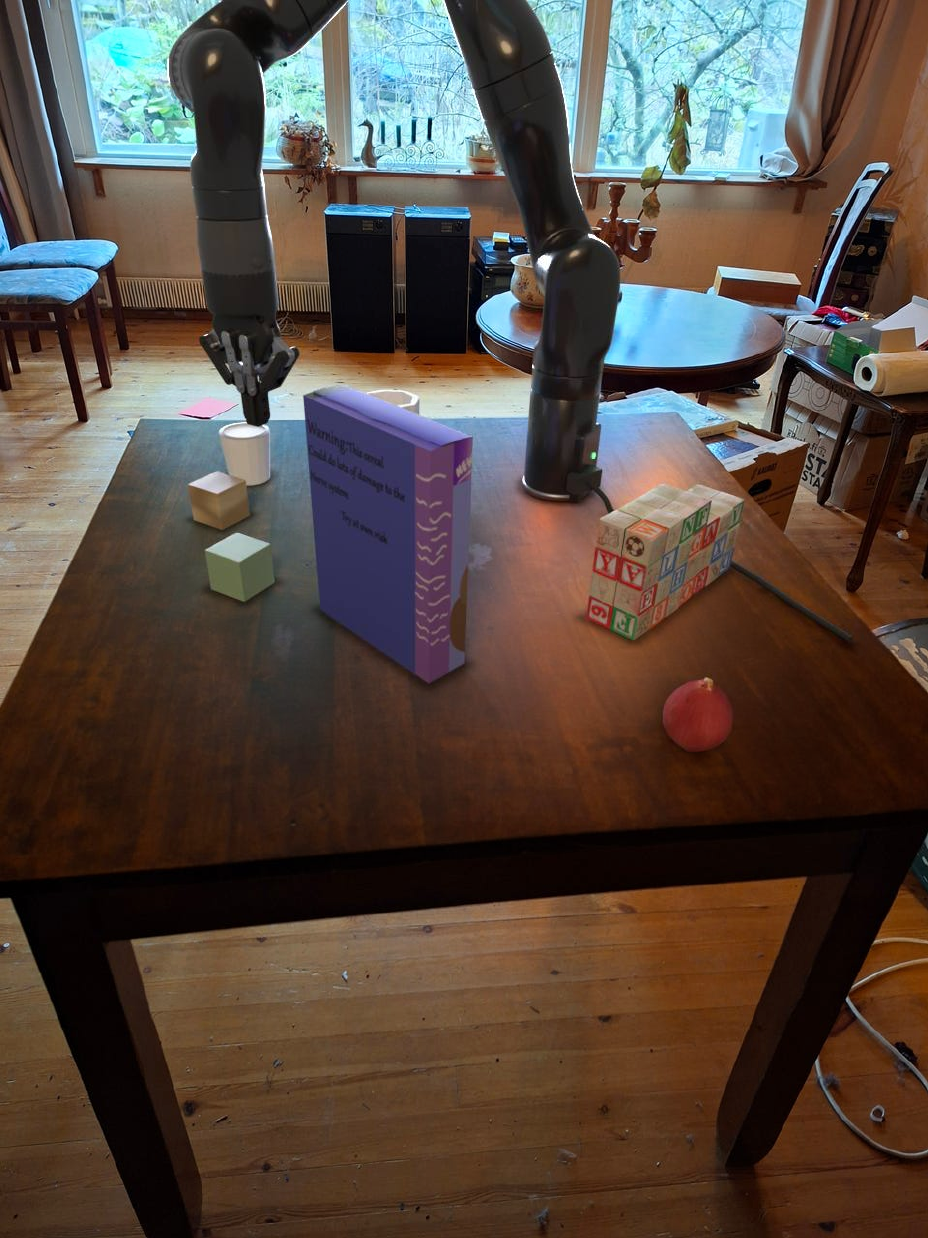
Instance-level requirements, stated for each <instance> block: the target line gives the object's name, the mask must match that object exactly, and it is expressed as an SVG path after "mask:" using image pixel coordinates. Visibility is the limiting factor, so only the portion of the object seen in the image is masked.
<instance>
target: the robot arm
mask: <svg viewBox="0 0 928 1238" xmlns="http://www.w3.org/2000/svg"><path fill="white" fill-rule="evenodd" d="M349 1H350V0H220V1H219V2H218V3H216V4H215V5H213V6H212V7H211V8H210V9H208V10H207V11H206V12H205V13H203V14H202V15H201V16H200V17H198V18H197V19H196V20H195V21H194V22H193V23H191V25H189V26H188V27H187V28H186V29H185V30H184V31H183V32H182V33H181V34H180V35H179V37H177V39H176V41H175V42H174V43H173V45H172V47H171V49H170V52H169V55H168V57H167V58H168V59H167V66H166V67H167V70H166V71H167V78H168V83H169V85H170V88H171V91H172V92H173V94H174V96H175V97H176V99H177V100H178V102H179V103H181V105H182V106H183V107H185V108H186V109H187V110H189V111H190V112H191V113H193V116H194V117H193V119H194V130H195V131H194V132H195V142H196V150H195V153H194V154H193V155H192V156H191V159H190V165H189V166H190V168H189V169H190V170H189V171H190V173H189V175H190V182H191V183H190V184H191V189H192V194H193V195H192V197H193V203H194V210H195V216H196V217H195V218H196V239H197V249H198V255H199V262H200V269H201V276H202V282H203V283H202V284H203V289H204V296H205V303H206V309H207V310H208V312H209V313H210V314H212V315H213V317H212V321H211V325H212V329H211V330H210V331H209V332H208V333H207V334H204V335H201V336H199V338H198V342H199V345H200V346H201V347H202V349H203V350H204V352H205V353H206V356H207V357H208V358H209V360H210V362H211V364H212V365H213V366H214V368H215V370H216V371H217V372H218V374H219V376H220V377H221V378H222V380H223V381H224V383H225V384H226V385H228V386H230V385H232V386H234V387H235V388H236V391H237V392H238V393H239V394H240V400H241V406H242V414H243V417H244V419H245V422H247V424H249V425H253V426H256V427H260V426H262V425H267V424H268V423H269V421H270V419H271V408H270V399H269V398H270V397H269V393H270V392H272V391H274V390H276V389H279V388H281V387H282V386H283V384H284V382H285V380H286V379H287V377H288V375H289V374H290V372H291V371H292V369H293V367H294V365H296V364H295V363H296V362H297V360H298V359H299V357H300V351H299V349H298V347H296V346H291V347H289V346H288V345H287V343H286V342H284V340H283V339H282V338H281V336H282V335H281V334H282V332H281V328H280V326H279V324H278V322H277V317H276V316H277V312H278V309H279V307H280V301H279V291H278V283H277V282H278V281H277V273H276V271H277V270H276V261H275V252H274V242H273V236H272V232H271V227H270V223H269V216H268V209H267V208H268V207H267V200H266V197H267V196H266V189H265V179H264V174H263V158H264V157H263V156H264V150H265V136H266V135H265V133H266V114H267V111H266V108H267V105H266V103H267V102H266V99H267V98H266V88H265V87H266V86H265V81H264V76H263V75H264V73H266V72H267V71H268V70H269V69H270V68H271V67H272V66H273V65H275V64H276V63H277V62H279V61H281V60H285V59H287V58H290V57H293V56H294V55H296V54H297V53H299V52H300V51H301V50H302V49H304V48H305V47H306V46H307V45H308V44H309V43H310V42H311V41H312V40H313V39H314V38H315V36H317V35H318V34H319V33H320V32H321V31H322V30H323V29H324V28H325V27H326V26H327V24H329V22H331V21H332V19H333V18H334V17H336V15H337V14H338V13H339V12H340V11H341V10H342V9H343V8H344V6H345V5H347V3H348V2H349ZM442 2H443V4H444V7H445V11H446V13H447V17H448V20H449V22H450V26H451V29H452V31H453V35H454V38H455V40H456V44H457V45H458V49H459V51H460V54H461V57H462V60H463V64H464V65H465V70H466V72H467V76H468V79H469V83H470V86H471V89H472V93H473V95H474V98H475V102H476V104H477V107H478V110H479V113H480V116H481V119H482V122H483V125H484V126H485V129H486V132H487V136H488V137H489V140H490V142H491V145H492V148H493V151H494V153H495V155H496V157H497V161H498V163H499V165H500V168H501V170H502V173H503V175H504V178H505V179H506V182H507V184H508V186H509V188H510V190H511V192H512V195H513V197H514V200H515V202H516V205H517V209H518V212H519V215H520V219H521V223H522V227H523V231H524V235H525V239H526V244H527V247H528V252H529V257H530V260H531V266H532V271H533V276H534V281H535V283H536V286H537V288H538V290H539V293H541V295H542V297H543V309H542V317H541V318H542V319H541V328H540V335H539V339H538V340H537V341H536V342H535V344H534V346H533V352H532V353H533V354H532V367H531V379H530V390H529V391H530V392H529V402H528V403H529V405H528V417H527V418H528V419H527V429H526V430H527V431H526V443H525V454H524V455H525V456H524V457H525V458H524V470H523V477H522V489H523V490H524V491H525V492H526V493H527V494H528V495H530V496H532V497H534V498H537V499H539V500H543V501H548V502H557V503H560V502H561V503H562V502H563V503H564V502H569V503H572V504H573V503H574V504H577V503H579V502H580V501H581V500H583V498H585V497H586V496H587V495H588V494H589V493H590V492H591V491H593V492H595V493H596V495H598V497H599V498H600V499H601V500H602V502H603V504H604V507H605V508H606V511H607V512H608V514H609V513H611V512H613V511H615V510H614V508H613V506H612V504H611V501H610V499H609V497H608V495H606V493H605V492H604V491H603V490H602V489H601V488H600V487H601V483H602V478H603V477H602V476H603V468H601V467H598V466H597V465H598V455H599V448H600V441H601V433H602V424H601V423H598V413H599V405H600V397H601V392H602V391H601V390H602V382H603V373H604V366H605V360H606V356H607V355H608V354H609V351H610V349H611V346H612V341H613V335H614V329H615V324H616V319H617V312H618V305H619V297H620V290H621V267H620V262H619V259H618V257H617V255H616V253H615V252H614V250H613V249H612V247H610V246H609V245H608V244H607V243H606V242H604V241H603V240H601V239H600V238H598V237H597V236H596V235H595V233H594V231H593V229H592V227H591V224H590V222H589V220H588V217H587V215H586V212H585V209H584V206H583V203H582V200H581V199H580V196H579V195H580V194H579V192H578V189H577V186H576V182H575V177H574V173H573V166H572V155H571V140H570V139H571V138H570V125H569V117H568V109H567V104H566V103H567V102H566V98H565V94H564V90H563V85H562V82H561V78H560V75H559V71H558V67H557V64H556V60H555V57H554V53H553V52H552V51H553V50H552V46H551V44H550V41H549V38H548V36H547V33H546V31H545V28H544V27H543V24H542V23H541V21H540V19H539V17H538V16H537V14H536V12H535V11H534V10H533V8H532V6H531V5H530V3H529V2H528V0H442ZM227 365H228V366H227ZM730 568H731V569H734V570H735V571H737V572H739V573H740V574H742V575H744V576H746V577H747V578H749V579H751V580H752V581H754V582H755V583H757V584H759V586H761V587H763V588H765V589H766V590H768V591H769V592H770V593H772V594H773V595H775V596H776V597H778V598H779V599H780V600H782V601H784V603H785V604H787V605H789V606H790V607H792V608H793V609H795V610H797V611H798V612H800V613H801V614H802V615H804V616H806V617H807V618H809V619H810V620H812V621H813V622H815V623H816V624H818V625H820V626H822V627H823V628H825V629H826V630H828V631H829V632H831V633H832V634H834V635H835V636H837V637H839V638H840V639H842V640H844V641H845V642H847V643H851V642H852V641H853V639H854V636H852V635H851V634H849V633H848V632H846V631H844V630H843V629H841V628H840V627H838V626H837V625H834V624H833V623H831V622H830V621H828V620H827V619H825V618H824V617H822V616H820V615H818V614H817V613H815V612H813V611H812V610H811V609H809V608H807V607H806V606H804V605H803V604H801V603H799V602H798V601H796V600H795V599H793V598H792V597H790V596H789V595H788V594H786V593H785V592H783V590H780V588H777V587H776V586H775V585H773V584H772V583H770V582H768V581H767V580H766V579H764V578H763V577H761V576H760V575H757V574H756V573H754V572H753V571H751V570H749V569H747V568H746V567H744V566H743V565H741V564H739V563H738V562H736V561H733V560H731V564H730Z"/></svg>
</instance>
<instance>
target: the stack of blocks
mask: <svg viewBox="0 0 928 1238" xmlns="http://www.w3.org/2000/svg"><path fill="white" fill-rule="evenodd" d="M745 501H746V499H744V498H743V497H742V498H741V497H739V496H735V495H732V494H730V493H727V492H725V491H719V490H717V489H714V488H711V487H708V486H705V485H701V484H699V483H697V484H695V485H693V486H692V487H690V488H689V489H687V490H683V489H680V488H677V487H675V486H672V485H670V484H667V483H660V484H658V485H656V486H655V487H653V488H652V489H650V490H649V491H647V492H645V493H643V494H642V495H641V496H638V497H637V498H635V499H634V500H631V501H630V502H628V503H626V504H624V505H623V506H621V507H619V508H617V509H615V510H614V511H613V512H611V513H608V514H606V515H604V516H602V517H601V518H600V519H599V520H598V521H599V522H598V529H597V538H596V545H595V548H594V552H593V555H594V556H593V562H592V574H591V584H590V589H589V595H588V601H587V610H586V615H585V616H586V620H588V621H591V622H593V623H595V624H597V625H599V626H601V627H604V628H606V629H607V630H610V631H612V632H614V633H616V634H618V635H620V636H623V637H625V638H627V639H629V640H630V641H633V642H634V641H636V640H637V639H639V638H640V637H641V636H643V635H644V634H645V633H647V632H648V631H649V630H652V629H653V628H654V627H655V626H657V625H658V624H660V623H661V622H662V621H663V620H665V618H667V617H669V616H670V615H672V614H673V613H674V612H675V611H677V610H678V609H679V607H681V606H682V605H683V604H684V603H686V602H687V601H688V600H690V599H691V598H692V597H693V596H694V595H696V594H697V593H699V592H700V591H701V590H702V589H703V588H704V587H708V585H710V584H711V583H712V582H714V581H715V580H717V579H718V578H719V577H721V576H722V575H723V574H724V573H726V572H727V571H728V570H730V568H731V567H730V564H731V560H732V559H733V556H734V551H735V546H736V543H737V540H738V535H739V532H740V526H741V523H740V522H741V517H742V513H743V510H744V506H745V505H744V504H745ZM732 561H733V560H732Z"/></svg>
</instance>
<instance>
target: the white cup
mask: <svg viewBox="0 0 928 1238" xmlns="http://www.w3.org/2000/svg"><path fill="white" fill-rule="evenodd" d="M218 436H219V440H220V445H221V448H222V452H223V456H224V457H223V458H224V461H225V465H226V471H227V474H228V475H231V476H234V477H237V478H240V479H244V480H246V487H247V486H248V487H249V486H256V485H261V484H264V483H265V482H267V481H268V480H270V478H271V429H270V428H269V426H268V425H267V424H264V425H262V426H260V427H256V426H253V425H249V424H247V422H246V421H243V422H242V421H241V422H236V423H235V422H234V423H231V424H227V425H225V426H223V427H222V428H220V429H219V431H218Z"/></svg>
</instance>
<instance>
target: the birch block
mask: <svg viewBox="0 0 928 1238" xmlns="http://www.w3.org/2000/svg"><path fill="white" fill-rule="evenodd" d="M187 487H188V493H189V499H190V505H191V511H192V516H193V521H195V522H198V523H201V524H204V525H206V526H210V527H212V528H215V529H218V530H221V531H224V530H225V529H228V528H230V527H231V526H234V525H235V524H238V523H239V522H241V521H242V520H245V519H246V518H248V517H250V516H251V511H250V503H249V495H248V487H247V486H246V480H244V479H240V478H237V477H234V476H231V475H229V474H228V473H224V472H222V471H218V470H216V471H214V472H211V473H210V474H208V475H205V476H203V477H201V478H199V479H196V480H194V481H192V482H190V483H188V484H187Z"/></svg>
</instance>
